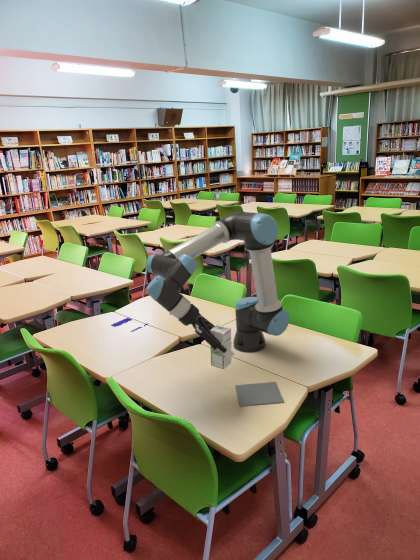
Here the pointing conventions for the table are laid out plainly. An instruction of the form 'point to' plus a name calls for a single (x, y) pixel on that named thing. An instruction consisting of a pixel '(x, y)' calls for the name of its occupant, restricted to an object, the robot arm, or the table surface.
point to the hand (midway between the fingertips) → (230, 350)
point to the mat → (258, 394)
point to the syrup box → (225, 337)
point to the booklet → (125, 322)
